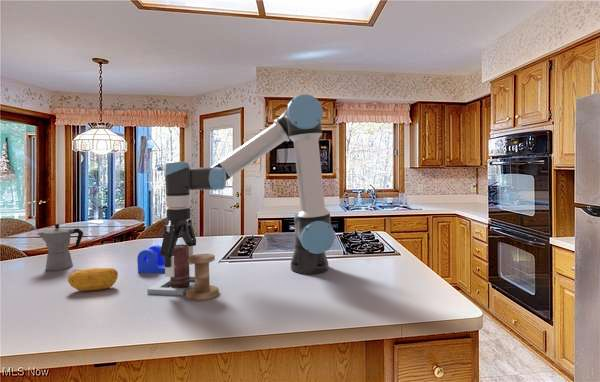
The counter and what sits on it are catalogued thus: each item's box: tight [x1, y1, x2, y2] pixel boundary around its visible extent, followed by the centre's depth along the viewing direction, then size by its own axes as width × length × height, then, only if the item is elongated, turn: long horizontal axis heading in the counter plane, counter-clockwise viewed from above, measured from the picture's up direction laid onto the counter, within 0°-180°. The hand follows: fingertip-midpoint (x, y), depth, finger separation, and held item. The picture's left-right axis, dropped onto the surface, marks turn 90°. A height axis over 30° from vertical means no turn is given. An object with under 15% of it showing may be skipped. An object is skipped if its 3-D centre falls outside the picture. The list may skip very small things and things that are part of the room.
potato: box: [67, 267, 119, 291], centre depth 109 cm, size 7×14×7 cm, turn 98°
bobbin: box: [185, 253, 220, 302], centre depth 104 cm, size 10×10×12 cm
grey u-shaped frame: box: [146, 274, 195, 296], centre depth 111 cm, size 12×15×2 cm
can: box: [170, 244, 191, 289], centre depth 111 cm, size 6×6×14 cm
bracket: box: [136, 244, 165, 274], centre depth 130 cm, size 18×8×9 cm, turn 86°
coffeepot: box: [36, 223, 84, 272], centre depth 133 cm, size 15×9×18 cm, turn 113°
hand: (180, 270), depth 111 cm, fingers open, 13 cm apart
